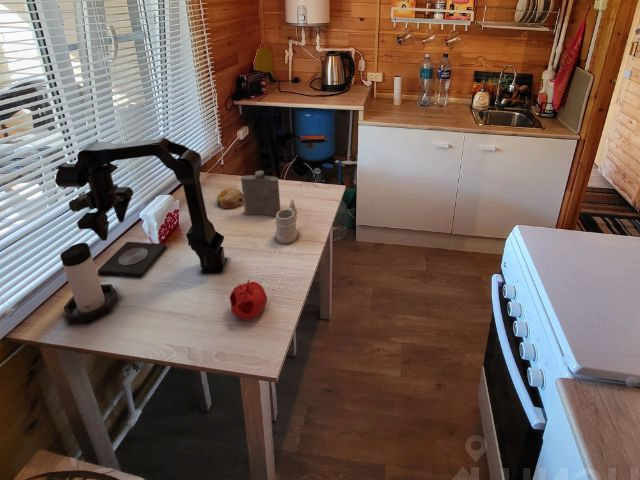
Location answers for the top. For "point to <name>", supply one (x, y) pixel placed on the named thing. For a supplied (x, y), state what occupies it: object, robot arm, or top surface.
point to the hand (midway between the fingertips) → (113, 230)
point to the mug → (286, 224)
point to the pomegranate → (248, 300)
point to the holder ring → (95, 314)
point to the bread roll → (230, 198)
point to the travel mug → (83, 278)
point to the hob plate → (132, 259)
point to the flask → (260, 194)
